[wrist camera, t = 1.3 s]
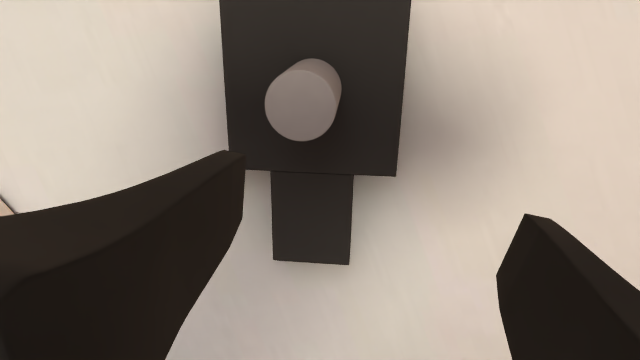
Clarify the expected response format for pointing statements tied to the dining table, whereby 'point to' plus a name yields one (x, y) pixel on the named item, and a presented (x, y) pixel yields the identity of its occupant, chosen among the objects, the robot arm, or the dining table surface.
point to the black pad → (354, 122)
